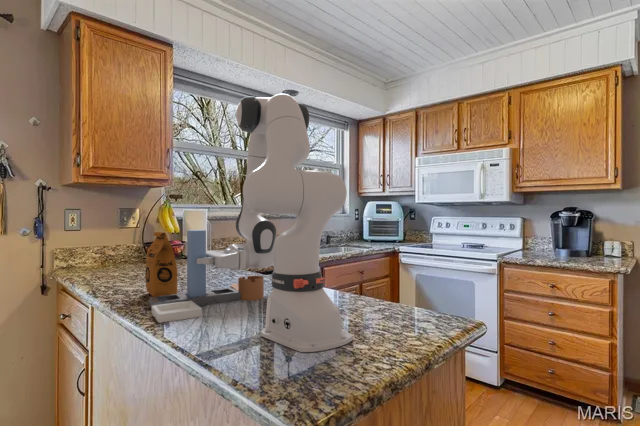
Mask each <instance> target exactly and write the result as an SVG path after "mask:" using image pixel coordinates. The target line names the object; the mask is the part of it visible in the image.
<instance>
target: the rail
mask: <svg viewBox="0 0 640 426" xmlns="http://www.w3.org/2000/svg"><path fill="white" fill-rule="evenodd" d="M184 301H193V302H194V303H195V304H196V305H198V306H199V307H200V306H206V305H214V304H221V303H227V302H234V301H242V300H241V292H239V291H237V290H235V289H233V288H231V287H225V288H223V287H222V288H216V289H208V290H207V289H206V296H198V297H190V298H189V297H188V296H187V292H181V293H177V294H172V295H163V296H155V297H153V296H149V306H150V308H151V309H152V306H153V305H161V304H169V303H176V302H184Z"/></svg>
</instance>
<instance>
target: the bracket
mask: <svg viewBox="0 0 640 426" xmlns="http://www.w3.org/2000/svg"><path fill="white" fill-rule="evenodd" d="M237 279H238V281H237V282H238V283H233V284H230V288H233V289H235V290H237V291H239V292H241V300H240V301H249V302H250V301H259V300H261V299H264V297H265V295H264V288H265V287H264V283H265V282H264V280H265V279H264V276H263V275H247V277H246V276H240V277H238V278H237Z"/></svg>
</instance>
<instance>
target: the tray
mask: <svg viewBox="0 0 640 426" xmlns="http://www.w3.org/2000/svg"><path fill="white" fill-rule="evenodd" d="M202 309H203V308H202V307H200V306H198V305H196V304H195V303H194V302H193V301H184V302H176V303H169V304H161V305H153V306H152V308H151V315H152V316H153V317H154V318H155V320H156V321H157V323H158V324H159V323H167V322H172V321H179V320H186V319H187V320H188V319H192V318H197V317H202V316H203V310H202Z"/></svg>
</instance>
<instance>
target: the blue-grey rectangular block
mask: <svg viewBox="0 0 640 426" xmlns="http://www.w3.org/2000/svg"><path fill="white" fill-rule="evenodd" d="M186 233H187V234H186V241H187V242H186V248H187V249H186V264H187V266H186V270H187V271H186V272H187V273H186V275H187V276H186V278H187V279H186V281H187V282H186V293H187V296H188V297H189V298H190V297H198V296H206V290H207V264H197V263H196V258H206V251H207V231H206V230H205V229H188V230H186Z"/></svg>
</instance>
